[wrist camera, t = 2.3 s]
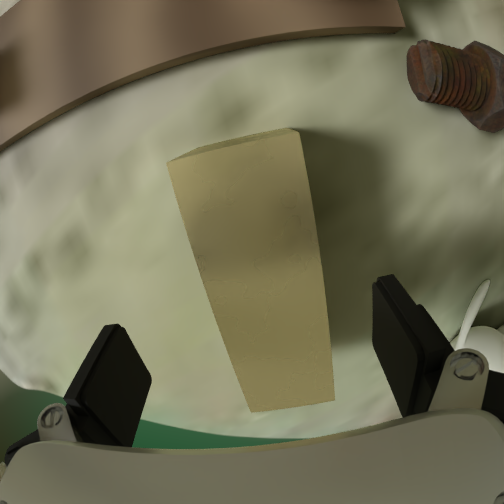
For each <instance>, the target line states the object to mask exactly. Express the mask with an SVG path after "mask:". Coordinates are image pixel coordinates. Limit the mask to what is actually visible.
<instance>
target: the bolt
mask: <svg viewBox="0 0 504 504" xmlns="http://www.w3.org/2000/svg"><path fill="white" fill-rule="evenodd" d="M407 75H408V81H409V83H410V86H411V89H412V91H413V93H414V94H415V95H416V97H417V98H418V100H419V101H425V102H428V103H429V102H431V103H437V104H442V105H447V106H453V107H454V108H455V107H457V108H459V109H460V111H461V112H462V114H463V115H464V116H465V117H466V118H467V119H468V120H469V121H470V122H471V123H472V124H473V125H474V126H476V127H477V128H478V129H479V130H484V131H488V132H492V133H494V132H496V131H499V130H501V129H503V128H504V55H503V54H502V53H500V52H499V51H497V50H495V49H493V48H492V47H490V46H488V45H485V44H482V43H480V42H477V41H473V42H472V43H470V44H469V45H467V46H466V47H465V48H464V49H463V50H461V49H457V48H455V47H450V46H446V45H444V44H440V43H435V42H432V41H428V40H421V41H418V42H417V45H412V46H411V47H410V48H409V50H408V53H407Z"/></svg>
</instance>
